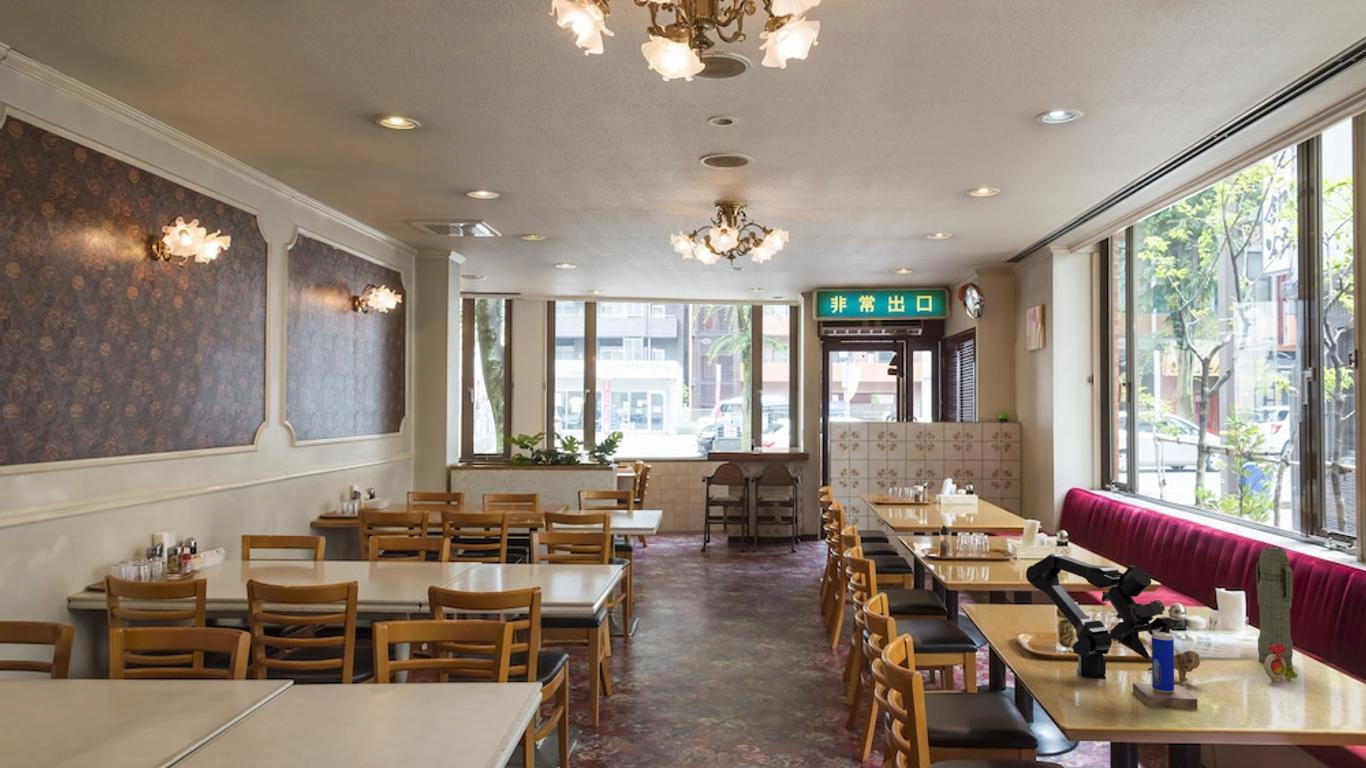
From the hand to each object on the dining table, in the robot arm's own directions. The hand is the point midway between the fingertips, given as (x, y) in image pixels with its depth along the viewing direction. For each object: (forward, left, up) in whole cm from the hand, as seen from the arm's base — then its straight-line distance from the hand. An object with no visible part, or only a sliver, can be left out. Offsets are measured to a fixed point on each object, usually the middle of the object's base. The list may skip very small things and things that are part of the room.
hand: (1160, 656), depth 242 cm
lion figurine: (+11, +21, -12) cm, 26 cm away
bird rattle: (+40, +24, -12) cm, 47 cm away
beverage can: (0, -1, -9) cm, 9 cm away
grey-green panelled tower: (+48, +44, -12) cm, 66 cm away
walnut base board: (+1, -1, -11) cm, 11 cm away
